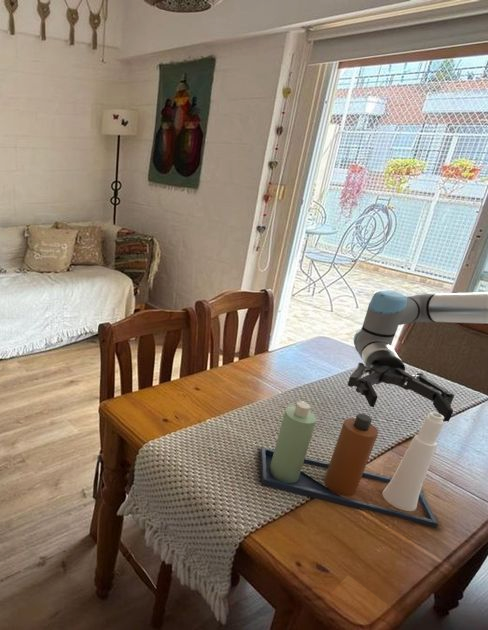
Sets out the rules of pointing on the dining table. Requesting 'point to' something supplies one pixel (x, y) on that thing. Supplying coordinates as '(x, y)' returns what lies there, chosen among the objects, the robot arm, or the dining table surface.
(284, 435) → the sage bottle
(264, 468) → the tray
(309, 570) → the dining table surface
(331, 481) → the amber bottle
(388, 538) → the dining table surface
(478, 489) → the dining table surface
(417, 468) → the cosmetic bottle
